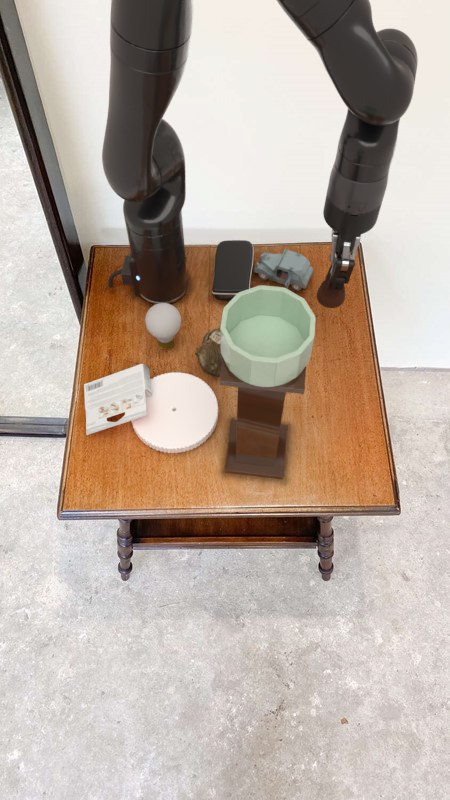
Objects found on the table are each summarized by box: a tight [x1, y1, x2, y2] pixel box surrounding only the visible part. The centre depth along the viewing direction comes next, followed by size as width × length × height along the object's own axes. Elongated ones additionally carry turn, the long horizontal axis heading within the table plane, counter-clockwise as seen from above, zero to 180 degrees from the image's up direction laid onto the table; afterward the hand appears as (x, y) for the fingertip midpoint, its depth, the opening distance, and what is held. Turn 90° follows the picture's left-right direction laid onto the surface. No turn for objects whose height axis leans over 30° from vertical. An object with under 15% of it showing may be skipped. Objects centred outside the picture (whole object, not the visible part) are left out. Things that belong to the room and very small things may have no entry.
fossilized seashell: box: [194, 327, 223, 376], centre depth 109 cm, size 8×7×10 cm
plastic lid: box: [130, 371, 219, 454], centre depth 104 cm, size 14×14×2 cm
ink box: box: [83, 363, 152, 436], centre depth 103 cm, size 2×11×10 cm
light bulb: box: [144, 303, 182, 350], centre depth 108 cm, size 6×6×10 cm
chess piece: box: [316, 253, 346, 309], centre depth 102 cm, size 5×5×10 cm
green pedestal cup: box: [218, 284, 317, 480], centre depth 88 cm, size 11×11×34 cm
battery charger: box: [211, 239, 255, 301], centre depth 118 cm, size 7×4×11 cm
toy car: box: [253, 248, 315, 291], centre depth 117 cm, size 6×10×5 cm, turn 67°
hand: (335, 274), depth 101 cm, fingers closed on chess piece, 5 cm apart
